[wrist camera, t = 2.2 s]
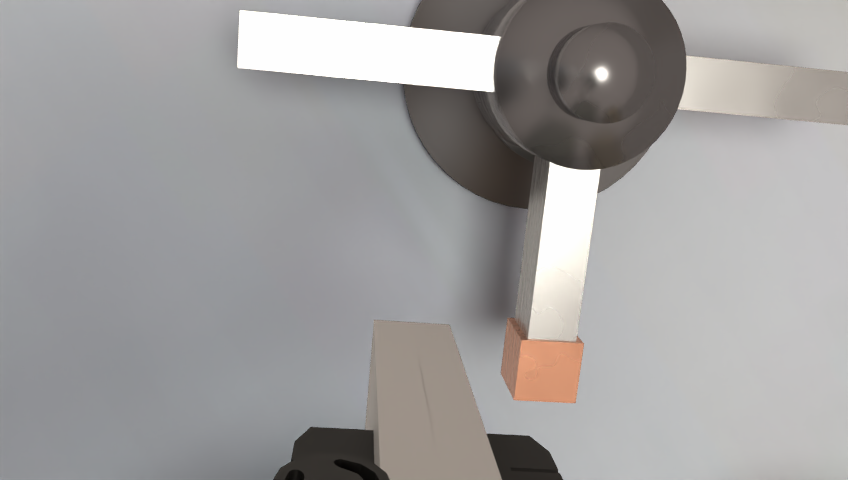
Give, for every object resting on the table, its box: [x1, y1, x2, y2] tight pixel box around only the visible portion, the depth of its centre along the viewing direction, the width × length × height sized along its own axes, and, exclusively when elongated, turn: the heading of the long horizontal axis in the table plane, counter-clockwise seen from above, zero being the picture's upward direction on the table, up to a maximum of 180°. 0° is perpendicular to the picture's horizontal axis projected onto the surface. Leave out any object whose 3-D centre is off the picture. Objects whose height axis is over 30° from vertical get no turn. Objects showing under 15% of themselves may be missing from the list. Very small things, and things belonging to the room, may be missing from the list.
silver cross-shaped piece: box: [237, 0, 848, 403], centre depth 22 cm, size 18×18×6 cm
